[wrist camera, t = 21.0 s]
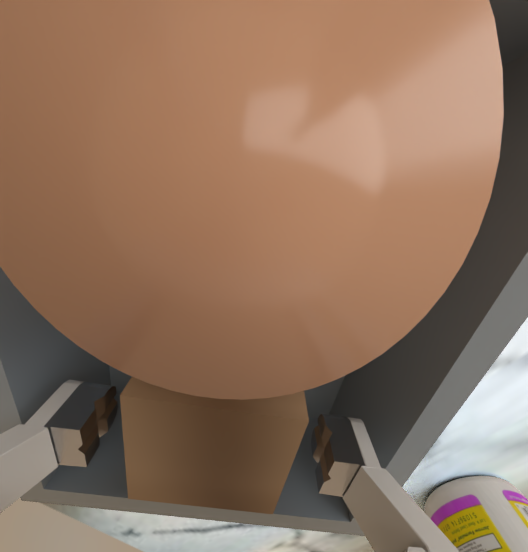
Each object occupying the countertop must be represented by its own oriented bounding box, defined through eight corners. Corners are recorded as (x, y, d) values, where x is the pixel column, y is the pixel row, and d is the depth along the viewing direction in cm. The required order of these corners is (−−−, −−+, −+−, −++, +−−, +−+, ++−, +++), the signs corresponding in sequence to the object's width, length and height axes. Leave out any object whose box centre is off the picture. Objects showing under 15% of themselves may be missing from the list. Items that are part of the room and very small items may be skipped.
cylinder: (206, 71, 8) (-164, -487, 1) (353, 131, 8) (669, -19, 2) (176, 224, 9) (-24, 339, 3) (296, 265, 10) (340, 435, 4)
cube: (177, 380, 13) (127, 498, 8) (181, 299, 11) (119, 395, 6) (270, 394, 13) (272, 514, 9) (291, 317, 11) (308, 420, 7)
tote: (101, 392, 14) (21, 500, 10) (44, -62, 7) (-403, -523, 2) (335, 423, 15) (365, 536, 10) (504, 52, 8) (844, -112, 3)
